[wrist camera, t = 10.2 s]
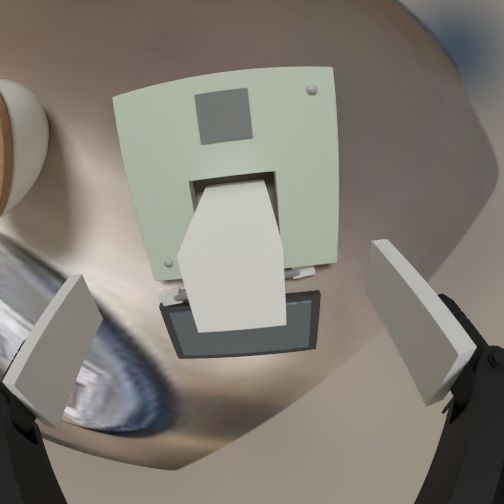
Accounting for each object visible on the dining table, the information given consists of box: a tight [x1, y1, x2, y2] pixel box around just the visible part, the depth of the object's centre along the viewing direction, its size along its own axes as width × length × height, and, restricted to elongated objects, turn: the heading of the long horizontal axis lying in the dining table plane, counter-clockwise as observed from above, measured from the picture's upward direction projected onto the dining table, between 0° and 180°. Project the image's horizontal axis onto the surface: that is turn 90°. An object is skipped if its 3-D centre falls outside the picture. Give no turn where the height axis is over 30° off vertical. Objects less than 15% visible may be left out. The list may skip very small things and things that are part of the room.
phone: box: [159, 290, 321, 359], centre depth 26 cm, size 14×7×1 cm, turn 95°
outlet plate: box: [113, 67, 339, 281], centre depth 18 cm, size 14×14×2 cm
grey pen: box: [159, 265, 315, 306], centre depth 23 cm, size 13×1×1 cm, turn 104°
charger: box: [177, 179, 286, 333], centre depth 16 cm, size 4×4×10 cm
